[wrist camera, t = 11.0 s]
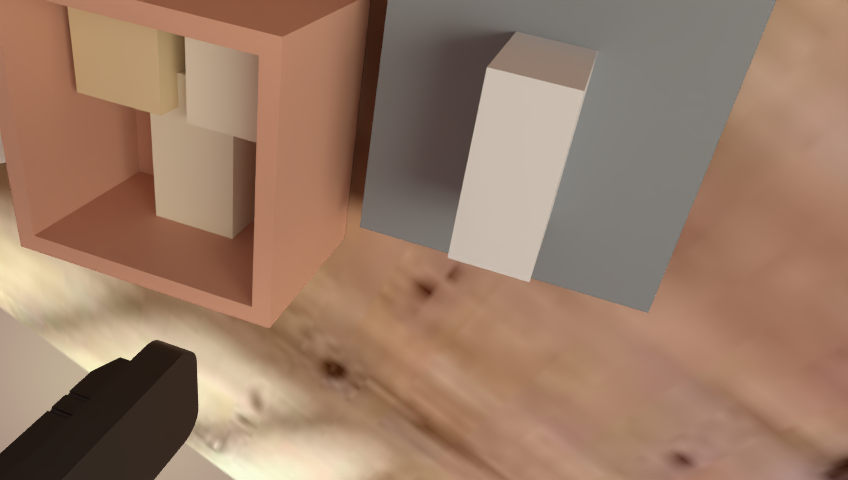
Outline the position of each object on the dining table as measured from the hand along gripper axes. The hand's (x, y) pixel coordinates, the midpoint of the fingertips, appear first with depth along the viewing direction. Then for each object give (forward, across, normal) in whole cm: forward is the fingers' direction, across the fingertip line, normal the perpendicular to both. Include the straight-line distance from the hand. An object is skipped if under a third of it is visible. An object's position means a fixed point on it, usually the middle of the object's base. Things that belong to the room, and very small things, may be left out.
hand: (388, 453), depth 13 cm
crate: (+20, +14, +3) cm, 24 cm away
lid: (+18, 0, 0) cm, 18 cm away
